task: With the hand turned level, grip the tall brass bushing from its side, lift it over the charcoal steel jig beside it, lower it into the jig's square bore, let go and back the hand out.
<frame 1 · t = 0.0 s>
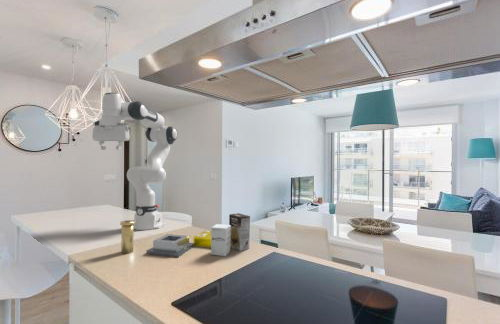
hand: (110, 149, 134), 48 cm above the worktop, tool pointing down, fingers open, 8 cm apart
supplement box: (220, 253, 118), on the worktop
steel jig: (171, 249, 122), on the worktop
brass bushing: (127, 252, 118), on the worktop
coffee box: (239, 247, 127), on the worktop
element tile: (211, 243, 134), on the worktop
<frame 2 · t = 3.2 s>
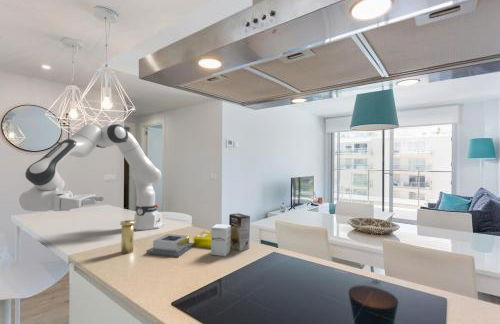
hand: (99, 200, 116), 24 cm above the worktop, tool horizontal, fingers open, 8 cm apart
nothing on the worktop moved.
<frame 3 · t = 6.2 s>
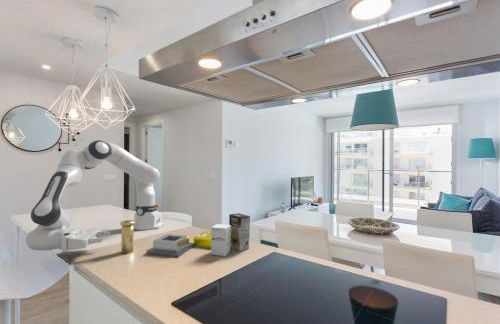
hand: (105, 236, 116), 8 cm above the worktop, tool horizontal, fingers open, 8 cm apart
nothing on the worktop moved.
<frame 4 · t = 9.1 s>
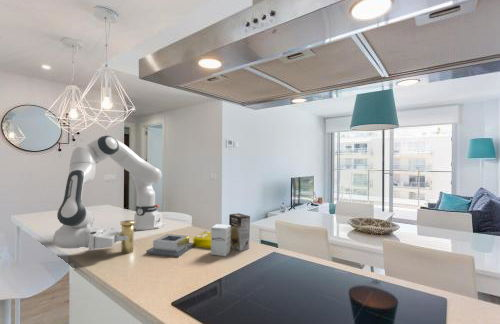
hand: (129, 235, 118), 8 cm above the worktop, tool horizontal, fingers closed on brass bushing, 5 cm apart
brass bushing: (127, 252, 118), on the worktop, touching gripper
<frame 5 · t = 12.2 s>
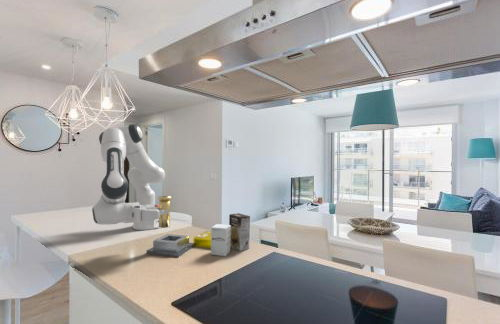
hand: (166, 210, 121), 19 cm above the worktop, tool horizontal, fingers closed on brass bushing, 5 cm apart
brass bushing: (164, 226, 120), point 11 cm above the worktop, touching gripper
everything else where it was.
when the fingers open (10 cm above the worktop, at t = 15.5 s): brass bushing drops 1 cm, resting on steel jig.
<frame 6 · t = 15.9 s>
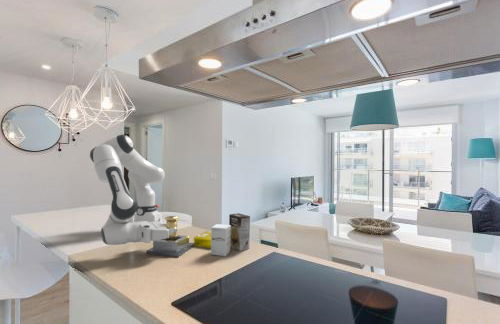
hand: (173, 227, 122), 10 cm above the worktop, tool horizontal, fingers open, 8 cm apart
brass bushing: (171, 246, 122), point 2 cm above the worktop, touching steel jig
everything else where it was.
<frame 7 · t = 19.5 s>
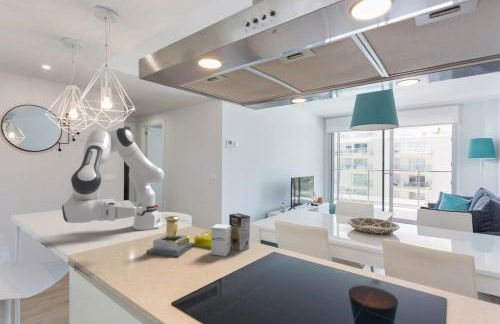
hand: (144, 206, 115), 22 cm above the worktop, tool horizontal, fingers open, 8 cm apart
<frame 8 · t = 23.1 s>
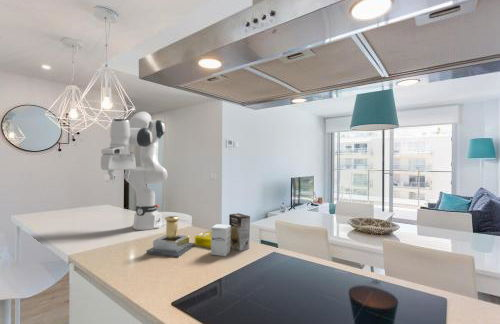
hand: (119, 179, 126), 33 cm above the worktop, tool pointing down, fingers open, 8 cm apart
at the end: brass bushing 0.1 cm off-centre on the steel jig, point 1.5 cm above the steel jig's base; brass bushing tilted 0°; the gripper is holding nothing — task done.
